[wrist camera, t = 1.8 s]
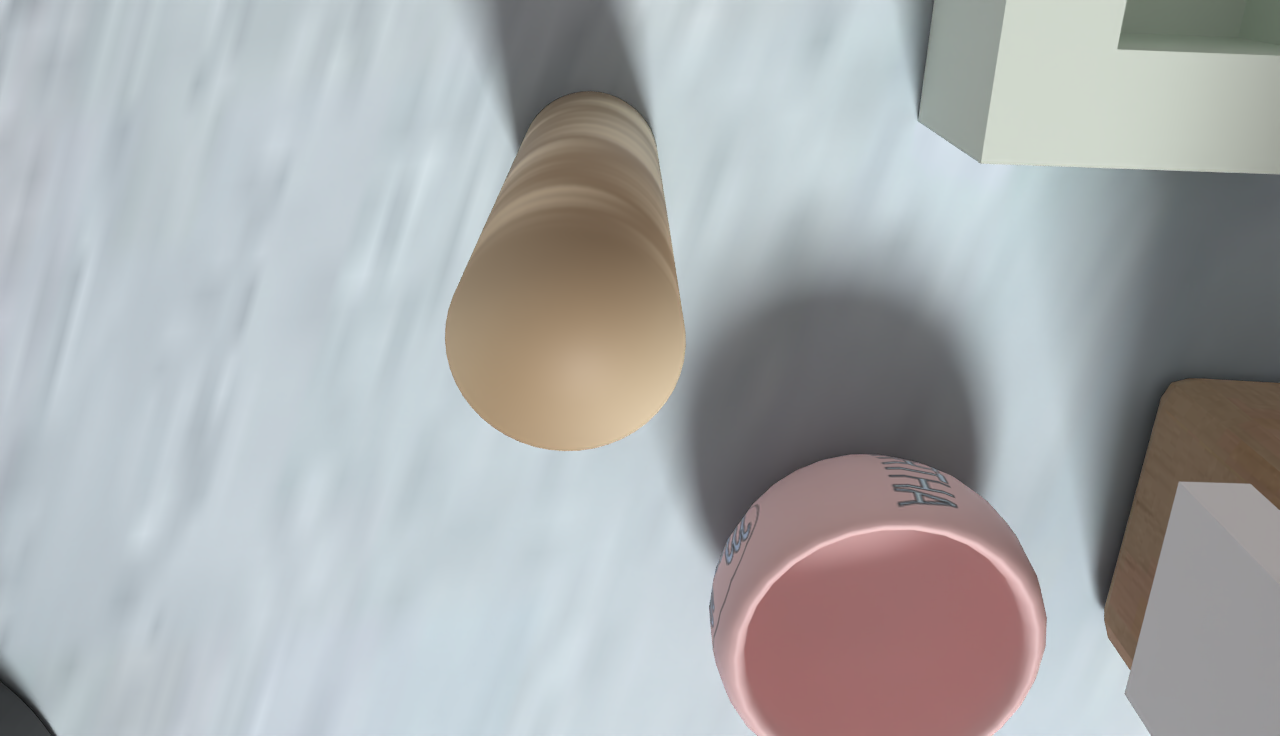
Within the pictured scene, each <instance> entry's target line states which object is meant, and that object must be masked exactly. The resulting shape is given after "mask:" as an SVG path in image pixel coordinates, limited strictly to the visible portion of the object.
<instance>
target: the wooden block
mask: <svg viewBox="0 0 1280 736" xmlns="http://www.w3.org/2000/svg"><path fill="white" fill-rule="evenodd" d="M1179 482H1210V483H1242V484H1251V485H1252V486H1254V487H1255V488H1256V489H1257V490H1258V491H1259V492H1260V493H1261V494H1262V495H1263V496H1264V497H1266V498H1267V499H1268V500H1269V501H1270V502H1271V503H1272V504H1273V505H1274V506H1275V507H1277V508H1278V509H1279V510H1280V383H1272V382H1254V381H1237V380H1219V379H1202V378H1188V379H1184V380H1180V381H1176V382H1172V383H1171V384H1170V385H1169V387H1168V388H1167V390H1166V391H1165V392H1164V394H1163V395H1162V397H1161V399H1160V403H1159V407H1158V410H1157V414H1156V418H1155V422H1154V425H1153V429H1152V433H1151V436H1150V440H1149V444H1148V448H1147V451H1146V455H1145V459H1144V462H1143V466H1142V470H1141V474H1140V477H1139V481H1138V485H1137V488H1136V492H1135V496H1134V500H1133V503H1132V507H1131V511H1130V514H1129V518H1128V522H1127V526H1126V529H1125V533H1124V537H1123V541H1122V544H1121V548H1120V552H1119V555H1118V559H1117V563H1116V567H1115V570H1114V574H1113V578H1112V581H1111V585H1110V589H1109V593H1108V596H1107V600H1106V604H1105V607H1104V621H1105V625H1106V630H1107V635H1108V638H1109V640H1110V641H1111V643H1112V644H1113V646H1114V647H1115V648H1116V650H1117V651H1118V653H1119V654H1120V656H1121V657H1122V659H1123V660H1124V662H1125V663H1126V665H1127V666H1128V668H1129V669H1130V671H1131V667H1132V663H1133V659H1134V655H1135V651H1136V647H1137V643H1138V639H1139V635H1140V632H1141V628H1142V624H1143V620H1144V616H1145V612H1146V608H1147V604H1148V600H1149V596H1150V592H1151V588H1152V585H1153V581H1154V577H1155V573H1156V569H1157V565H1158V561H1159V557H1160V553H1161V549H1162V545H1163V541H1164V538H1165V534H1166V530H1167V526H1168V522H1169V518H1170V514H1171V510H1172V506H1173V502H1174V498H1175V494H1176V491H1177V487H1178V483H1179Z"/></svg>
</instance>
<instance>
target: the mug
mask: <svg viewBox="0 0 1280 736" xmlns="http://www.w3.org/2000/svg"><path fill="white" fill-rule="evenodd" d="M709 611H710V624H711V635H712V645H713V652H714V657H715V661H716V665H717V668H718V671H719V674H720V676H721V679H722V682H723V685H724V687H725V690H726V693H727V695H728V697H729V699H730V701H731V703H732V705H733V706H734V708H735V709H736V711H737V712H738V714H739V715H740V717H741V718H742V720H743V721H744V723H745V724H746V726H747V727H748V728H749V729H751V730H752V731H753V732H754V733H755V734H756V735H757V736H992V735H993V734H994V733H996V732H997V731H998V730H999V729H1001V728H1002V727H1003V725H1004V724H1005V723H1006V722H1007V721H1008V720H1009V718H1010V717H1011V716H1012V715H1013V714H1014V713H1015V712H1016V710H1017V709H1018V708H1019V707H1020V706H1021V704H1022V702H1023V701H1024V699H1025V697H1026V695H1027V693H1028V692H1029V690H1030V688H1031V686H1032V685H1033V683H1034V681H1035V679H1036V676H1037V673H1038V670H1039V666H1040V663H1041V660H1042V656H1043V653H1044V650H1045V645H1046V622H1047V617H1046V612H1045V608H1044V603H1043V598H1042V594H1041V589H1040V586H1039V582H1038V578H1037V575H1036V573H1035V571H1034V569H1033V568H1032V566H1031V564H1030V562H1029V560H1028V558H1027V556H1026V554H1025V552H1024V550H1023V548H1022V546H1021V544H1020V542H1019V540H1018V538H1017V536H1016V535H1015V534H1014V532H1013V531H1012V529H1011V528H1010V527H1009V525H1008V524H1007V523H1006V522H1005V521H1004V519H1003V518H1002V517H1001V516H1000V515H999V514H998V513H997V511H996V510H995V509H994V508H993V507H992V506H991V505H990V504H989V502H988V501H986V500H985V499H984V498H982V497H981V496H980V495H979V494H977V493H976V492H975V491H973V490H972V489H970V488H969V487H967V486H966V485H965V484H963V483H962V482H960V481H959V480H957V479H956V478H954V477H953V476H951V475H949V474H946V473H944V472H942V471H939V470H937V469H934V468H932V467H929V466H927V465H925V464H922V463H918V462H915V461H911V460H906V459H901V458H896V457H891V456H885V455H880V454H850V455H845V456H839V457H834V458H829V459H824V460H821V461H818V462H816V463H813V464H811V465H808V466H806V467H803V468H800V469H798V470H796V471H794V472H793V473H791V474H789V475H788V476H786V477H785V478H783V479H781V480H780V481H778V482H777V483H775V484H774V485H772V486H771V487H770V488H769V489H768V490H767V491H766V492H765V493H764V494H763V495H762V496H761V497H760V498H758V499H757V500H756V501H755V502H754V503H753V504H752V506H751V507H750V508H749V510H748V511H747V513H746V514H745V515H744V517H743V518H742V520H741V521H740V523H739V524H738V525H737V527H736V528H735V530H734V531H733V533H732V534H731V535H730V537H729V538H728V540H727V542H726V544H725V547H724V549H723V552H722V554H721V557H720V559H719V562H718V564H717V566H716V571H715V575H714V580H713V586H712V593H711V599H710V606H709Z"/></svg>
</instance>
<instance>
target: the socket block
mask: <svg viewBox="0 0 1280 736" xmlns="http://www.w3.org/2000/svg"><path fill="white" fill-rule="evenodd" d="M918 122H920V123H921V124H923V125H924V126H926V127H927V128H929V129H930V130H932V131H933V132H935V133H936V134H938V135H939V136H941V137H942V138H944V139H945V140H946V141H948V142H949V143H951V144H952V145H954V146H955V147H957V148H958V149H960V150H961V151H963V152H964V153H966V154H967V155H969V156H970V157H972V158H973V159H975V160H976V161H978V162H979V163H981V164H1005V165H1033V166H1061V167H1088V168H1116V169H1143V170H1171V171H1199V172H1226V173H1254V174H1280V0H934V5H933V13H932V20H931V28H930V35H929V43H928V50H927V58H926V65H925V73H924V80H923V88H922V95H921V103H920V110H919V117H918Z"/></svg>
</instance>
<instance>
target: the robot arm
mask: <svg viewBox="0 0 1280 736" xmlns="http://www.w3.org/2000/svg"><path fill="white" fill-rule="evenodd" d="M1125 695H1126V697H1127V698H1128V700H1129V702H1130V703H1131V705H1132V706H1133V708H1134V709H1135V711H1136V713H1137V714H1138V716H1139V717H1140V719H1141V720H1142V722H1143V724H1144V725H1145V727H1146V728H1147V730H1148V731H1149V733H1150V735H1151V736H1280V510H1279V509H1278V508H1277V507H1275V506H1274V505H1273V504H1272V503H1271V502H1270V501H1269V500H1268V499H1267V498H1266V497H1264V496H1263V495H1262V494H1261V493H1260V492H1259V491H1258V490H1257V489H1256V488H1255V487H1254V486H1252V485H1251V484H1242V483H1210V482H1179V483H1178V487H1177V491H1176V494H1175V498H1174V502H1173V506H1172V510H1171V514H1170V518H1169V522H1168V526H1167V530H1166V534H1165V538H1164V541H1163V545H1162V549H1161V553H1160V557H1159V561H1158V565H1157V569H1156V573H1155V577H1154V581H1153V585H1152V588H1151V592H1150V596H1149V600H1148V604H1147V608H1146V612H1145V616H1144V620H1143V624H1142V628H1141V632H1140V635H1139V639H1138V643H1137V647H1136V651H1135V655H1134V659H1133V663H1132V667H1131V671H1130V675H1129V679H1128V682H1127V686H1126V690H1125ZM0 736H51V735H50V733H49V732H48V730H47V729H46V728H45V726H44V725H43V724H42V722H41V721H40V720H39V719H38V718H37V716H36V715H35V714H34V713H33V712H32V711H31V709H30V708H29V707H28V706H27V705H26V704H25V703H24V702H23V701H22V700H21V699H20V698H19V697H18V696H17V695H15V694H14V693H13V692H12V691H11V690H10V689H9V688H8V687H6V686H5V685H4V684H3V683H1V682H0Z"/></svg>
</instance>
